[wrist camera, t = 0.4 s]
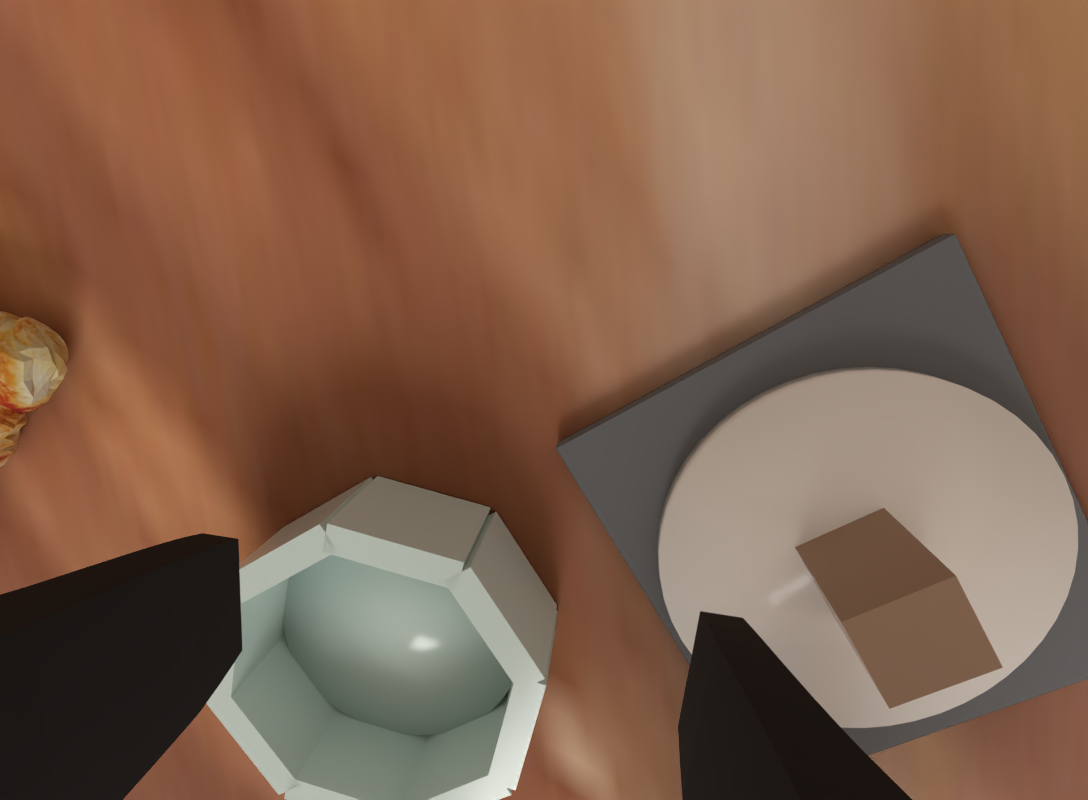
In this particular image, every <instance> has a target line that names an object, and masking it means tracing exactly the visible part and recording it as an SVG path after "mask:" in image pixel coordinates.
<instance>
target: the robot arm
mask: <svg viewBox="0 0 1088 800" xmlns="http://www.w3.org/2000/svg"><path fill="white" fill-rule="evenodd" d="M241 652H242V624H241V599H240V573H239V547H238V539H235V538H229V537H222V536H216V535H209V534H203V533H202V534H197V535H193V536H188V537H184V538H180V539H176V540H173V541H169V542H166V543H162V544H159V545H155V546H152V547H149V548H146V549H142V550H139V551H136V552H133V553H130V554H127V555H123V556H120V557H117V558H114V559H111V560H108V561H105V562H102V563H99V564H96V565H93V566H89V567H86V568H83V569H80V570H77V571H74V572H71V573H68V574H65V575H62V576H59V577H56V578H53V579H49V580H46V581H43V582H40V583H37V584H34V585H31V586H28V587H25V588H21V589H18V590H15V591H11V592H8V593H5V594H1V595H0V800H123V799H124V798H125V796H126V795H127V794H128V793H129V792H130V791H131V790H132V789H133V788H134V786H135V785H136V784H137V783H138V782H139V781H140V780H141V779H142V777H143V776H144V775H145V774H146V773H147V772H148V771H149V770H150V768H151V767H152V766H153V765H154V764H155V763H156V762H157V761H158V759H159V758H160V757H161V756H162V755H163V754H164V753H165V751H166V750H167V749H168V748H169V747H170V746H171V745H172V743H173V742H174V741H175V740H176V739H177V738H178V737H179V735H180V734H181V733H182V732H183V731H184V730H185V729H186V727H187V726H188V725H189V724H190V723H191V722H192V720H193V719H194V718H195V717H196V716H197V715H198V713H199V712H200V711H201V710H202V708H203V707H204V705H205V704H206V703H207V701H208V700H209V699H210V697H211V696H212V694H213V693H214V692H215V690H216V689H217V687H218V686H219V685H220V683H221V682H222V680H223V679H224V677H225V676H226V674H227V673H228V671H229V670H230V668H231V667H232V665H233V664H234V662H235V661H236V659H237V658H238V656H239V655H240V653H241ZM678 732H679V750H680V768H681V782H682V796H683V800H912V799H911V798H910V797H909V796H908V795H907V794H906V793H905V792H904V791H903V790H902V789H901V788H900V787H899V786H898V785H897V784H896V783H895V782H894V781H893V780H892V779H891V778H890V777H889V776H888V775H887V774H886V773H885V772H884V771H883V770H882V769H881V768H880V767H879V766H878V765H877V764H876V763H875V762H874V761H872V759H871V758H870V757H869V756H868V755H867V754H866V753H865V752H864V751H863V750H862V749H861V748H860V747H859V746H858V745H857V744H856V743H855V742H854V741H853V740H852V739H851V738H850V737H849V736H848V734H847V733H846V732H845V731H844V730H843V729H842V728H841V727H840V726H839V725H838V724H837V723H836V722H835V721H834V720H833V718H832V717H831V716H830V715H829V714H828V713H827V712H826V711H825V710H824V709H823V707H822V706H821V705H820V704H819V703H818V702H817V701H816V700H815V699H814V698H813V696H812V695H811V694H810V693H809V692H808V691H807V690H806V689H805V688H804V686H803V685H802V684H801V683H800V682H799V681H798V680H797V678H796V677H795V676H794V675H793V674H792V673H791V672H790V670H789V669H788V668H787V667H786V666H785V665H784V664H783V662H782V661H781V660H780V659H779V658H778V657H777V656H776V654H775V653H774V652H773V651H772V650H771V649H770V648H769V646H768V645H767V644H766V643H765V642H764V641H763V639H762V638H761V637H760V636H759V635H758V634H757V633H756V632H755V630H754V629H753V628H752V627H751V626H750V625H749V624H748V623H747V622H746V621H745V620H744V618H742V617H735V616H729V615H722V614H716V613H709V612H703V611H700V615H699V620H698V625H697V630H696V636H695V641H694V646H693V651H692V657H691V662H690V667H689V672H688V677H687V683H686V688H685V693H684V698H683V704H682V709H681V714H680V719H679V725H678Z"/></svg>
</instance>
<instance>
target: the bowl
mask: <svg viewBox="0 0 1088 800" xmlns="http://www.w3.org/2000/svg"><path fill="white" fill-rule="evenodd" d="M490 508H491V507H487V506H484V505H480V504H477V503H473V502H470V501H466V500H462V499H459V498H455V497H452V496H448V495H444V494H441V493H437V492H434V491H430V490H426V489H423V488H419V487H416V486H412V485H409V484H405V483H401V482H398V481H394V480H391V479H387V478H383V477H380V476H377V477H376V478H375V479H374V480H373V478H372V477H370V478H368V479H366V480H364V481H363V482H361V483H359V484H357V485H356V486H354V487H352V488H351V489H349V490H347V491H345V492H344V493H342V494H340V495H338V496H337V497H335V498H333V499H331V500H330V501H328V502H326V503H324V504H323V505H321V506H319V507H317V508H316V509H314V510H312V511H310V512H309V513H307V514H305V515H304V516H302V517H300V518H298V519H297V520H295V521H293V522H291V523H290V524H288V525H286V526H284V527H283V528H282V529H280V530H279V531H278V532H277V533H276V534H274V535H273V536H272V537H271V538H270V539H268V540H267V541H266V542H265V543H264V544H262V545H261V546H260V547H259V548H257V549H256V550H255V551H254V552H253V553H251V554H250V555H249V556H248V557H247V558H245V559H244V560H243V561H242V562H241V563H239V573H240V599H241V624H242V652H241V653H240V655H239V656H238V658H237V659H236V661H235V662H234V664H233V665H232V667H231V668H230V670H229V671H228V673H227V674H226V676H225V677H224V679H223V680H222V682H221V683H220V685H219V686H218V687H217V689H216V690H215V692H214V693H213V694H212V696H211V697H210V699H209V700H208V701H207V703H206V704H207V705H208V706H209V707H210V709H211V710H212V711H213V712H214V714H215V715H216V716H217V717H218V719H219V720H220V721H221V723H222V724H223V725H224V726H225V728H226V729H227V730H228V731H229V733H230V734H231V735H232V736H233V738H234V739H235V740H236V741H237V743H238V744H239V745H240V747H241V748H242V749H243V750H244V752H245V753H246V754H247V755H248V757H249V758H250V759H251V760H252V762H253V763H254V764H255V766H256V767H257V768H258V769H259V771H260V772H261V773H262V774H263V776H264V777H265V778H266V779H267V781H268V782H269V783H270V784H271V786H272V787H273V788H274V790H275V791H276V792H277V793H278V795H279V794H282V793H284V792H285V799H287V800H499V799H502V798H504V797H507V796H509V795H511V793H512V790H516V787H517V783H518V780H519V777H520V773H521V770H522V766H523V763H524V760H525V756H526V753H527V750H528V746H529V743H530V739H531V736H532V733H533V729H534V726H535V722H536V719H537V716H538V712H539V709H540V705H541V702H542V699H543V695H544V692H545V688H546V685H547V678H548V672H549V665H550V659H551V653H552V646H553V640H554V634H555V627H556V621H557V615H558V611H556V609H557V604H556V603H555V601H554V600H553V598H552V597H551V595H550V594H549V592H548V591H547V589H546V587H545V586H544V584H543V583H542V581H541V580H540V578H539V577H538V575H537V574H536V572H535V570H534V569H533V567H532V566H531V564H530V563H529V561H528V560H527V558H526V557H525V555H524V554H523V552H522V550H521V549H520V547H519V546H518V544H517V543H516V541H515V540H514V538H513V537H512V535H511V533H510V532H509V530H508V529H507V527H506V526H505V524H504V523H503V521H502V520H501V518H500V517H499V515H498V513H497V512H494V513H492V514H490V515H489V512H490Z"/></svg>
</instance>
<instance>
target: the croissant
mask: <svg viewBox="0 0 1088 800" xmlns="http://www.w3.org/2000/svg"><path fill="white" fill-rule="evenodd" d="M68 361H69V357H68V349H67V346H66V344H65V342H64V340H63V339H62V338H61V337H60V336H59V335H58V334H57V333H56V332H55V331H53V330H52V329H50V328H49V327H48V326H46V325H45V324H43V323H41V322H39V321H37V320H35V319H33V318H30V317H27V316H25V317H23V318H20V317H18V316H16V315H14V314H11V313H8V312H3V311H0V467H1V466H3V465H5V464H6V462H7V461H8V459H9V457H10V456H11V455H12V454H13V453H14V452H15V450H16V448H17V446H18V444H19V443H18V439H19V436H20V429H21V427H22V426H23V425H25V424H26V423H27V415H26V413H27V412H29V411H33V410H36V409H37V407H39V406H41V405H43V404H45V403H46V402H48V401H49V400H50V398H51V397H52V395H53V394H54V392H55V391H56V389H57V387H58V386H59V385H60V383H61V382H62V381H63V379H64V376H65V374H66V372H67V366H66V363H67V362H68Z"/></svg>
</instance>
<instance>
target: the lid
mask: <svg viewBox="0 0 1088 800" xmlns="http://www.w3.org/2000/svg"><path fill="white" fill-rule="evenodd" d="M657 552H658V568H659V575H660V581H661V586H662V592H663V597H664V601H665V604H666V607H667V610H668V613H669V615H670V618H671V621H672V623H673V625H674V627H675V629H676V631H677V633H678V634H679V636H680V638H681V640H682V642H683V643H684V644H685V646H686V647H687V649H688V650H689V651H690V653H691V654H692V651H693V646H694V641H695V636H696V630H697V625H698V620H699V615H700V611H703V612H709V613H716V614H722V615H729V616H735V617H742V618H744V620H745V621H746V622H747V623H748V624H749V625H750V626H751V627H752V628H753V629H754V630H755V632H756V633H757V634H758V635H759V636H760V637H761V638H762V639H763V641H764V642H765V643H766V644H767V645H768V646H769V648H770V649H771V650H772V651H773V652H774V653H775V654H776V656H777V657H778V658H779V659H780V660H781V661H782V662H783V664H784V665H785V666H786V667H787V668H788V669H789V670H790V672H791V673H792V674H793V675H794V676H795V677H796V678H797V680H798V681H799V682H800V683H801V684H802V685H803V686H804V688H805V689H806V690H807V691H808V692H809V693H810V694H811V695H812V696H813V698H814V699H815V700H816V701H817V702H818V703H819V704H820V705H821V706H822V707H823V709H824V710H825V711H826V712H827V713H828V714H829V715H830V716H831V717H832V718H833V720H834V721H835V722H836V723H837V724H838V725H839V726H840V727H841V728H870V727H882V726H891V725H897V724H902V723H907V722H913V721H917V720H920V719H923V718H927V717H930V716H933V715H937V714H940V713H942V712H945V711H947V710H949V709H952V708H954V707H957V706H959V705H961V704H964V703H966V702H967V701H969V700H971V699H973V698H975V697H976V696H978V695H980V694H982V693H984V692H986V691H987V690H988V689H990V688H991V687H993V686H994V685H996V684H997V683H998V682H1000V681H1001V680H1003V679H1004V678H1005V677H1007V676H1008V675H1009V674H1010V673H1011V672H1012V671H1014V670H1015V669H1016V668H1017V667H1018V666H1019V665H1020V664H1021V663H1023V662H1024V661H1025V660H1026V659H1027V658H1028V657H1029V655H1030V654H1031V653H1032V652H1033V651H1034V650H1035V648H1036V647H1037V646H1038V645H1039V644H1040V643H1041V642H1042V640H1043V639H1044V637H1045V636H1046V634H1047V633H1048V631H1049V630H1050V628H1051V627H1052V625H1053V624H1054V622H1055V621H1056V619H1057V617H1058V615H1059V613H1060V611H1061V609H1062V607H1063V605H1064V603H1065V601H1066V598H1067V596H1068V593H1069V590H1070V587H1071V583H1072V580H1073V577H1074V574H1075V567H1076V560H1077V553H1078V523H1077V517H1076V512H1075V507H1074V501H1073V498H1072V495H1071V492H1070V490H1069V487H1068V484H1067V481H1066V479H1065V476H1064V474H1063V473H1062V471H1061V469H1060V467H1059V465H1058V464H1057V462H1056V460H1055V458H1054V457H1053V455H1052V453H1051V452H1050V451H1049V450H1048V448H1047V447H1046V446H1045V445H1044V443H1043V442H1042V441H1041V440H1040V438H1039V437H1038V436H1037V435H1036V434H1035V433H1034V432H1033V431H1032V430H1031V429H1030V428H1029V427H1028V426H1027V425H1026V424H1024V423H1023V422H1022V421H1021V420H1020V419H1019V418H1018V417H1017V416H1016V415H1014V414H1013V413H1011V412H1010V411H1008V410H1007V409H1005V408H1004V407H1002V406H1001V405H999V404H998V403H996V402H995V401H993V400H991V399H989V398H987V397H985V396H983V395H981V394H979V393H977V392H975V391H972V390H970V389H968V388H966V387H963V386H961V385H958V384H955V383H953V382H950V381H947V380H944V379H941V378H938V377H934V376H931V375H928V374H925V373H920V372H915V371H910V370H904V369H899V368H885V367H853V368H840V369H834V370H829V371H823V372H818V373H813V374H810V375H806V376H803V377H800V378H796V379H793V380H790V381H787V382H785V383H782V384H780V385H778V386H775V387H773V388H771V389H769V390H766V391H764V392H762V393H760V394H759V395H757V396H755V397H753V398H752V399H750V400H748V401H747V402H745V403H743V404H742V405H740V406H738V407H737V408H736V409H735V410H733V411H732V412H731V413H729V414H728V415H727V416H725V417H724V418H723V419H722V420H720V421H719V422H718V423H717V424H716V425H715V426H714V427H713V428H712V429H711V430H710V431H709V432H708V433H707V434H706V435H705V436H704V437H703V438H702V439H701V440H700V441H699V442H698V444H697V445H696V446H695V447H694V449H693V450H692V451H691V453H690V454H689V455H688V457H687V458H686V459H685V461H684V462H683V464H682V466H681V468H680V469H679V471H678V473H677V475H676V476H675V478H674V480H673V482H672V485H671V487H670V489H669V492H668V494H667V497H666V499H665V502H664V506H663V510H662V514H661V518H660V522H659V531H658V541H657Z"/></svg>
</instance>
